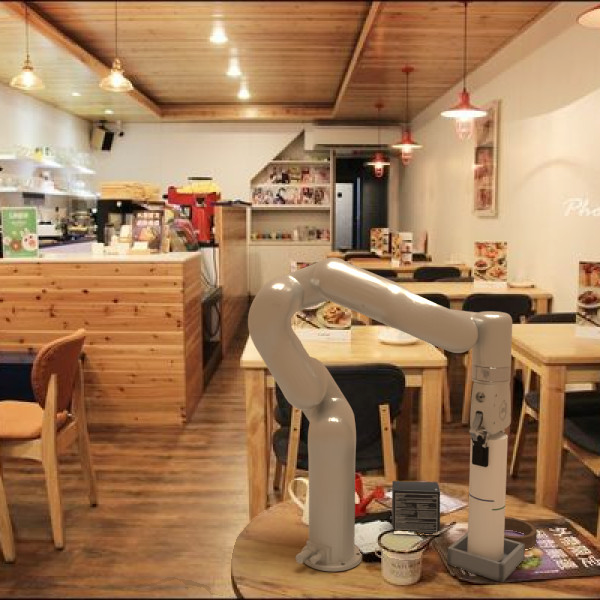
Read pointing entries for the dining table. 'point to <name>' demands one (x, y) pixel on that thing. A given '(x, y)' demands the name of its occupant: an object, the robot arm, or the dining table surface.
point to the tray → (486, 559)
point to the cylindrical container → (488, 501)
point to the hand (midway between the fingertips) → (488, 459)
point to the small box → (416, 506)
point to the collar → (522, 527)
